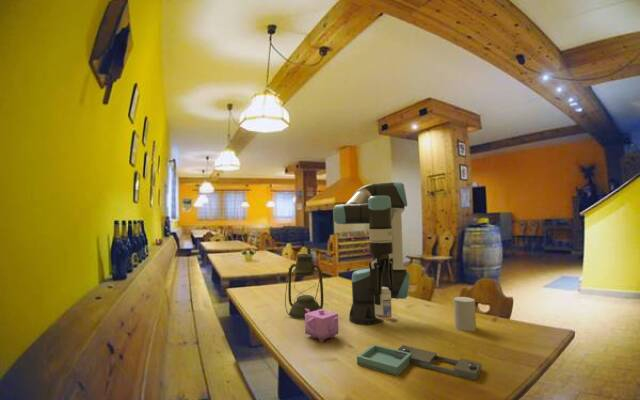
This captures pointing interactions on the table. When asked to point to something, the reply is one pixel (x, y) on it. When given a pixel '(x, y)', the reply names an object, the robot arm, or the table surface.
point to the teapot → (321, 324)
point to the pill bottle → (385, 305)
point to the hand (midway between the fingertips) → (383, 311)
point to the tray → (383, 359)
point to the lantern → (303, 302)
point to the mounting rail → (428, 358)
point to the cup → (464, 313)
